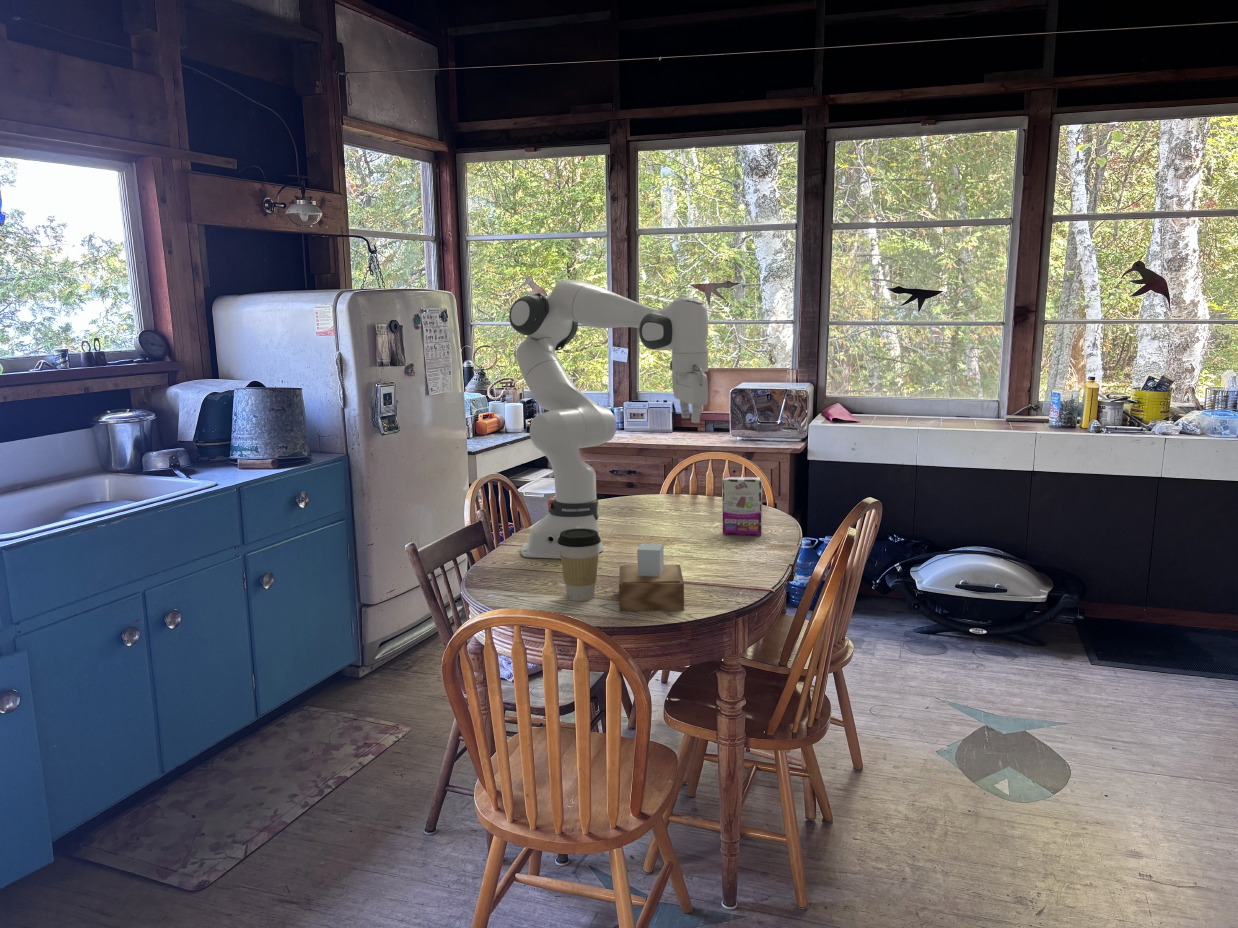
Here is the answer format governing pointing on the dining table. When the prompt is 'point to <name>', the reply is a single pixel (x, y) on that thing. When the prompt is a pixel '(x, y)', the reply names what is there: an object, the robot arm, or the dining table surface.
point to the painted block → (650, 560)
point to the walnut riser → (651, 589)
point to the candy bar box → (742, 506)
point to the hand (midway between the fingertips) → (690, 420)
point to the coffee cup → (579, 562)
